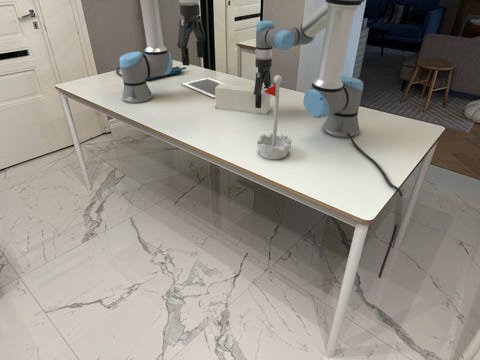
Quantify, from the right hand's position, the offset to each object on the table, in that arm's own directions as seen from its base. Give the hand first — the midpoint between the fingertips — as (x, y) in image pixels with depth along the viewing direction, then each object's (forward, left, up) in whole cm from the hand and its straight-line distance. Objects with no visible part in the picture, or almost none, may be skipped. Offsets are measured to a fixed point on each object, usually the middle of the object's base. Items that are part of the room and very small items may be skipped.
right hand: (262, 103), depth 167 cm
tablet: (+46, +10, -4) cm, 47 cm away
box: (+7, +7, -4) cm, 11 cm away
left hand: (-1, +34, +24) cm, 42 cm away
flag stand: (-40, +17, -4) cm, 44 cm away
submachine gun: (+87, +31, -4) cm, 92 cm away
